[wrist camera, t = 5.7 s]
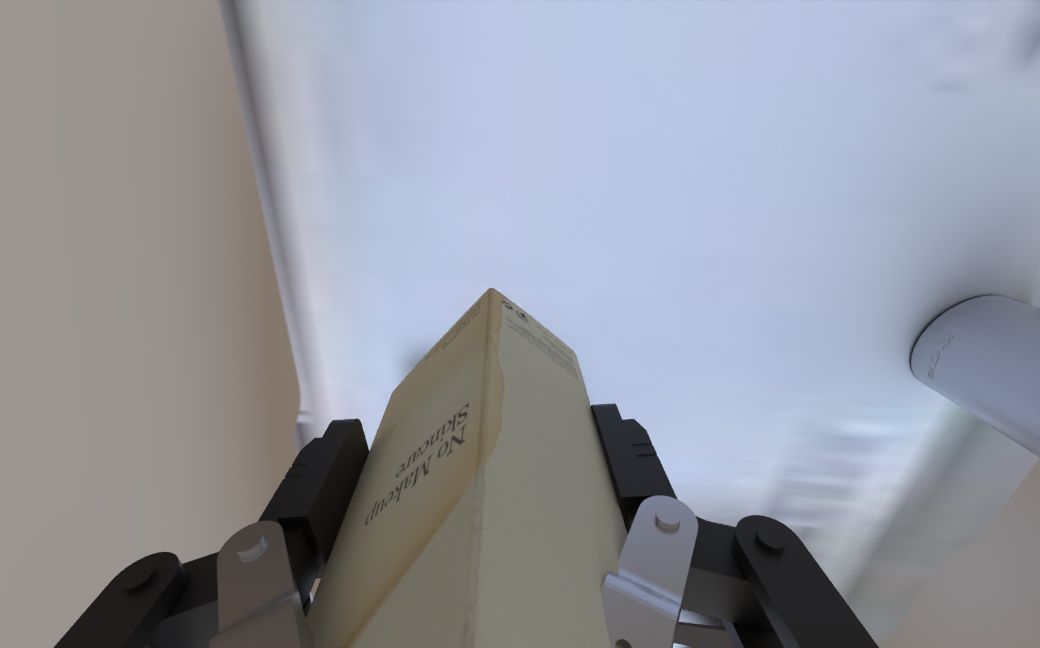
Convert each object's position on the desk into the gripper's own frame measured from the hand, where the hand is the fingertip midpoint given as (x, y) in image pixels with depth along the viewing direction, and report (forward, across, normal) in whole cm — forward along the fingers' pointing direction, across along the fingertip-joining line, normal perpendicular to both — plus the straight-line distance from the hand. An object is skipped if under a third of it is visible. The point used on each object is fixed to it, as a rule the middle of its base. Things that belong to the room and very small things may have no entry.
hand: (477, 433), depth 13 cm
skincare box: (+4, 0, 0) cm, 4 cm away
